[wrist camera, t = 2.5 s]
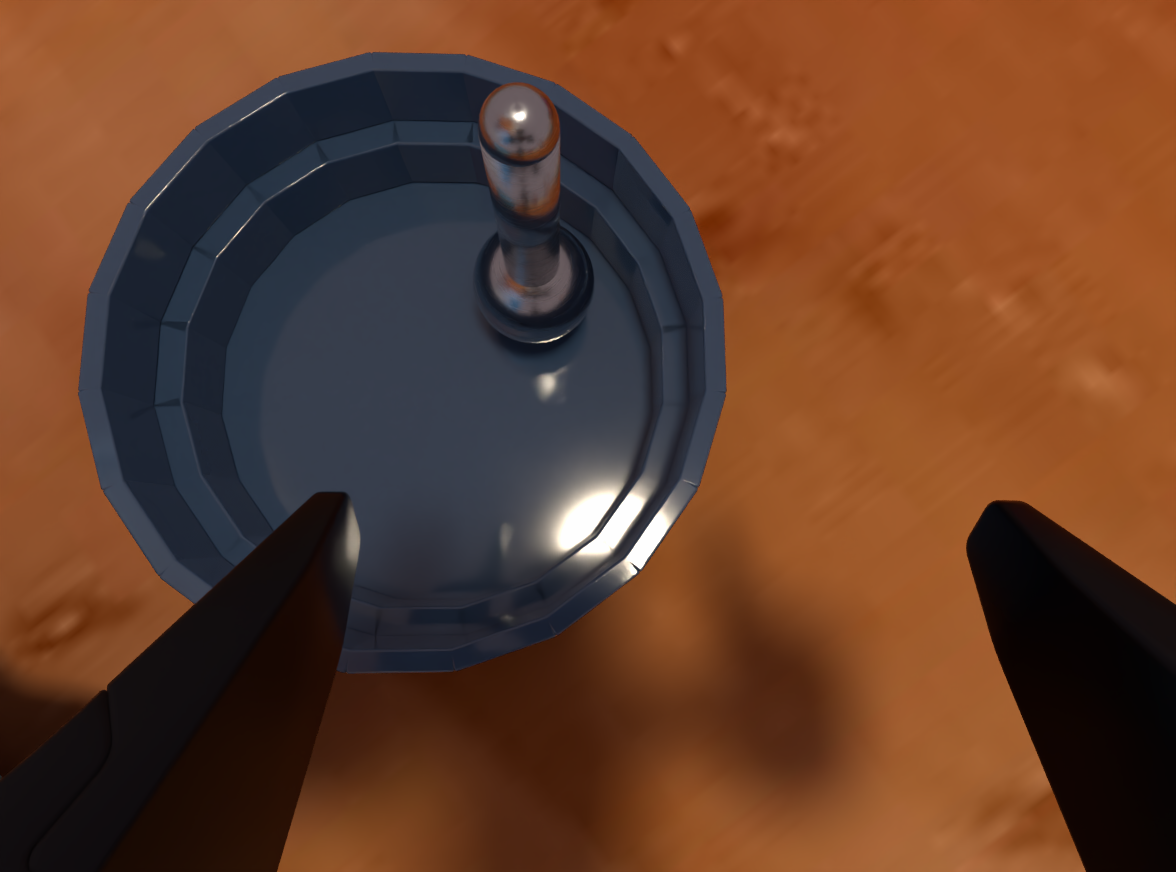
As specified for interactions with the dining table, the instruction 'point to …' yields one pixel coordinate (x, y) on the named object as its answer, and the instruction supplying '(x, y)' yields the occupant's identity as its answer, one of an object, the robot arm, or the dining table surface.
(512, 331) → the silver metal pestle
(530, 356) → the dark blue round bowl
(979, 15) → the dining table surface
